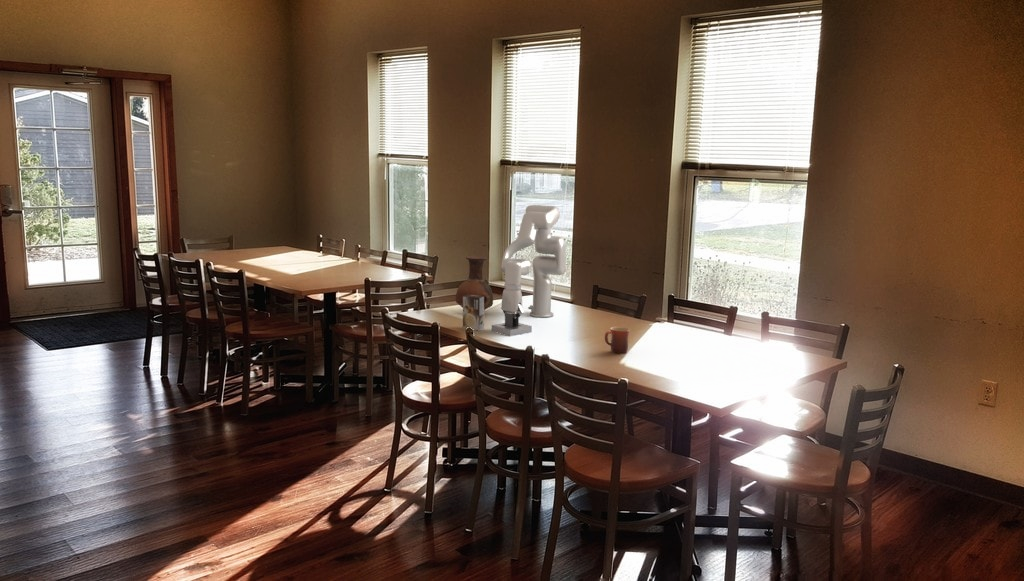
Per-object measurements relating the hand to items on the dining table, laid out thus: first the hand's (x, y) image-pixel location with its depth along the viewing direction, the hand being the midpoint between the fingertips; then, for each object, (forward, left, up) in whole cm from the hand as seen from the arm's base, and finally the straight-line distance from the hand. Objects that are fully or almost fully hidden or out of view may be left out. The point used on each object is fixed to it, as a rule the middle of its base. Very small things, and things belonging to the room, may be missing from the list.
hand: (511, 324), depth 377 cm
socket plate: (0, 0, -3) cm, 3 cm away
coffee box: (-15, -11, -4) cm, 19 cm away
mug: (+57, +8, -4) cm, 57 cm away
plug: (0, 0, -1) cm, 1 cm away
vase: (-42, +13, -4) cm, 45 cm away
